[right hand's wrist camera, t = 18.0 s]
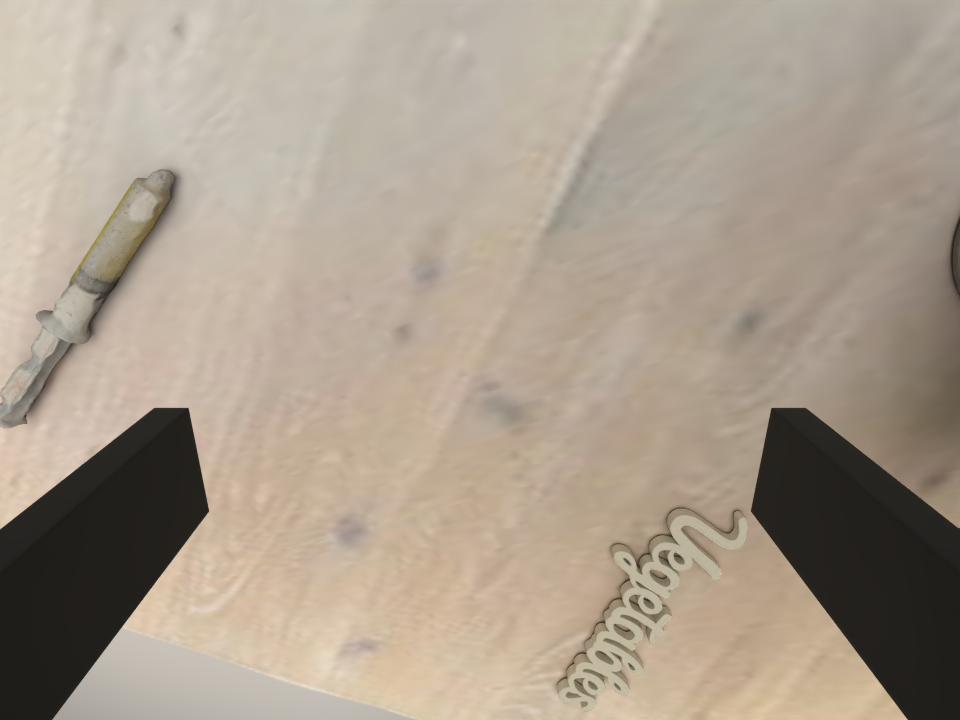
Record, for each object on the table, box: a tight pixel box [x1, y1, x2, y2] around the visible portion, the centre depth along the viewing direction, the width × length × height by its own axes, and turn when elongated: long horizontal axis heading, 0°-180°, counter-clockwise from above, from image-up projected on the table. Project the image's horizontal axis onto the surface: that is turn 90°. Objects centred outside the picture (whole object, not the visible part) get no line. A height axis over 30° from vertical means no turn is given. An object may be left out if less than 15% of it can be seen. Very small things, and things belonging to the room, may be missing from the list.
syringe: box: [0, 169, 175, 428], centre depth 42 cm, size 25×4×3 cm, turn 136°
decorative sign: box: [557, 509, 748, 711], centre depth 53 cm, size 26×1×10 cm
